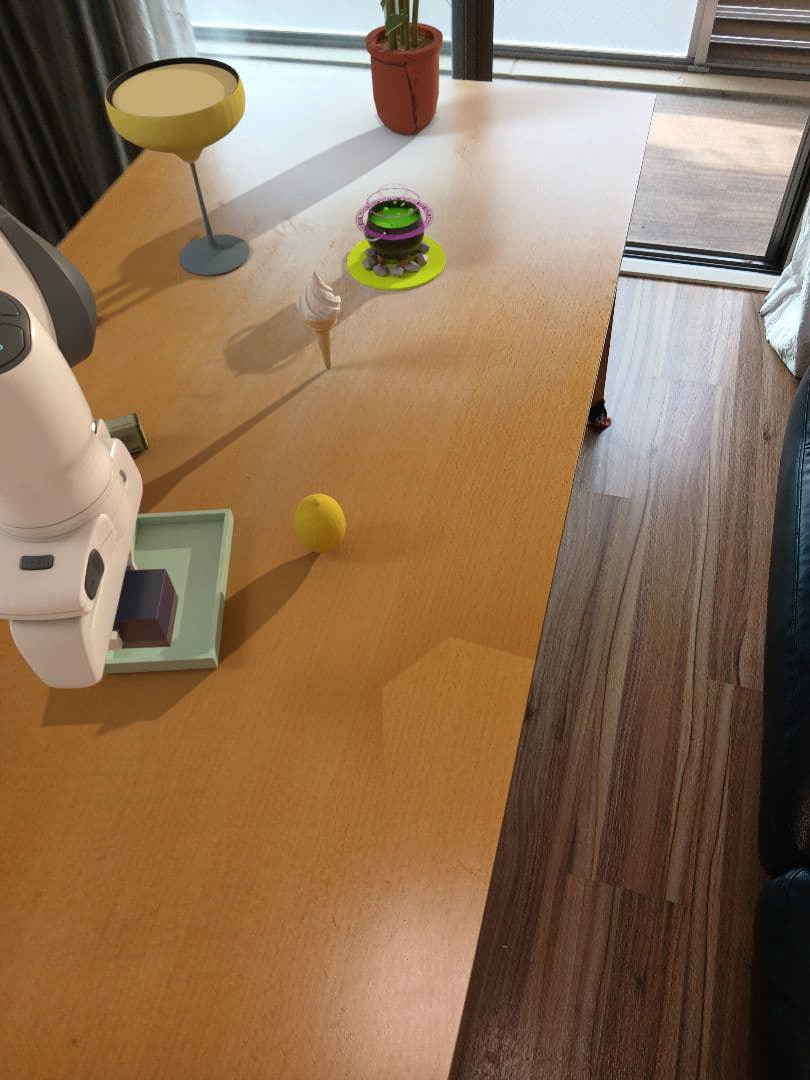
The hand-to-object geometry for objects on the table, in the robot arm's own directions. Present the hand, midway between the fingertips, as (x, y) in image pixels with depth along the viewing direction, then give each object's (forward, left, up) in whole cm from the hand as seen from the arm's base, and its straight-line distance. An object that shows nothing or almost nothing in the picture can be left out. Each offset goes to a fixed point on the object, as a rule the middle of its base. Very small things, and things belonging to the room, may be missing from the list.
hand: (121, 610), depth 69 cm
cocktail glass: (-3, +75, -15) cm, 76 cm away
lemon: (+15, +17, -15) cm, 27 cm away
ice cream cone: (+15, +47, -15) cm, 51 cm away
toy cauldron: (+25, +71, -15) cm, 77 cm away
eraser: (0, 0, -2) cm, 2 cm away
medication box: (-13, +33, -15) cm, 38 cm away
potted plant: (+30, +111, -15) cm, 116 cm away
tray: (-1, +12, -15) cm, 19 cm away
